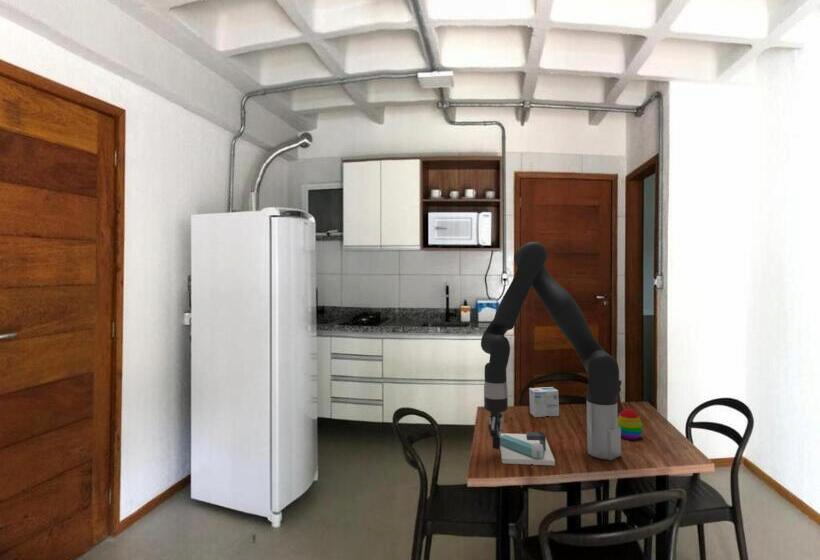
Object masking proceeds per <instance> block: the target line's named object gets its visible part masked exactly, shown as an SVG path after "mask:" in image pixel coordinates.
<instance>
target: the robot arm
mask: <svg viewBox="0 0 820 560" xmlns="http://www.w3.org/2000/svg"><path fill="white" fill-rule="evenodd" d="M547 257H548V253H547V250H546V248H545V246H544V245H543V244H542V243H540V242H538V241H529V242H527V243H524V244H523V245H521V246H520V247H519V248H517V250H516V251H515V252H514V256H513V260H514V261H513V262H514V264H515V266H516V271H515V274H514V276H513V279H512V281H511V282H510V285H509V286H508V288H507V290H506V292H505V293H504V294H503V296H502V299H501V300H500V303H499V305H498V307H497V309H496V312H495V315H494V317H493V319H492V320H491V322H490V323H489V324H488V326H487V328H486V329H485V331H484V333H483V334H482V336H481V340H480V347H481V349H482V351H483V352H484V353H486V354H488V355H489V362H487V363H485V365H484V385H483V400H484V401H483V402H484V403H483V404H484V405H483V407H484V410H485V411H487V412H489V413H490V415H489V416H488V422H489V424H488V429H489V430H488V431H489V433H490V437H491V438H492V448H493V449H494V450H500V436H501V433H502V431H503V421H504V414H502V413H504V412H507V411H508V410H509V409H508V408H509V402H508V401H509V400H508V399H509V398H508V395H509V394H508V384H507V383H508V382H507V378H508V377H507V368H508V363H509V359H510V354H511V345H510V342H509V339H508V338H507V337H506V336H505V334H506V333H507V332H508V331H510V330H511V331H512V330H513V329H514V327H515V326H516V323H517V321H518V318H519V316H520V313H521V310H522V308H523V306H524V303H525V300H526V298H527V295H528V294H529V291H530V290H531V287H532V288H533V290H534V291H535V292H536V294H537V297H538V298H539V300H540V301H541V303H542V304H543V306H544V307H545V310H546V311H547V313H548V314H549V316H550V317H551V319H552V320H553V322H554V324H556V326H557V327H558V329H559V330H560V331H561V333H562V334H563V335H564V336H565V338H566V339H567V340H568V342H570V344H571V345H572V346H573V349H574V350H575V352H576V354H577V356H578V358H579V359H580V361H581V363H582V365H583V368H584V369H585V371H586V373H587V382H588V383H587V390H586V394H585V395H586V397H585V398H586V435H587V436H586V440H587V441H586V442H587V444H586V446H587V453H588V455H589V456H591V457H593V458H594V457H595V458H597V459H601V460H608V461H613V460H615V459H617V458H619V457H621V456H622V436H621V427H620V426H618V414H617V397H618V394H619V380H620V369H619V368H620V367H619V363H618V361H617V360H616V359H615V358H614V357H613V356H612V355H611V354H609V353H608V352H606V350H605V349H604V348H603V347H602V346H601V344H600V343H599V342H598V341H597V340H596V338H595V336H594V335H593V334H592V331H591V330H590V327H589V325H588V322H587V319H586V317H585V315H584V313H583V311H582V310H581V307H580V306H579V305H578V304H577V302H576V300H575V299H574V297H572V295H571V294H570V293H569V291H567V290H566V289H565V288H564V287H563V286H562V285H561V284H560V283H558V282H557V281H556V280H555V279H554V278H553V277H552V275H551V273H549V271H548V270H547V268H546V266H545V265H544V264H545V263H546V260H547Z"/></svg>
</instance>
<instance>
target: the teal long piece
mask: <svg viewBox="0 0 820 560" xmlns="http://www.w3.org/2000/svg"><path fill="white" fill-rule="evenodd" d="M500 444H501V445H503V446H506V447H508V448H511V449H514V450H516V451H519V452H521V453H524V454H526V455H529V456H531V457H533V458H536V459H541V458H543V457H544V449H543V445H542V444H539V443H533V444H530V443H527V442H524V441H522V440H519V439H516V438H513V437H511V436H508V435H502V436H500Z"/></svg>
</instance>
